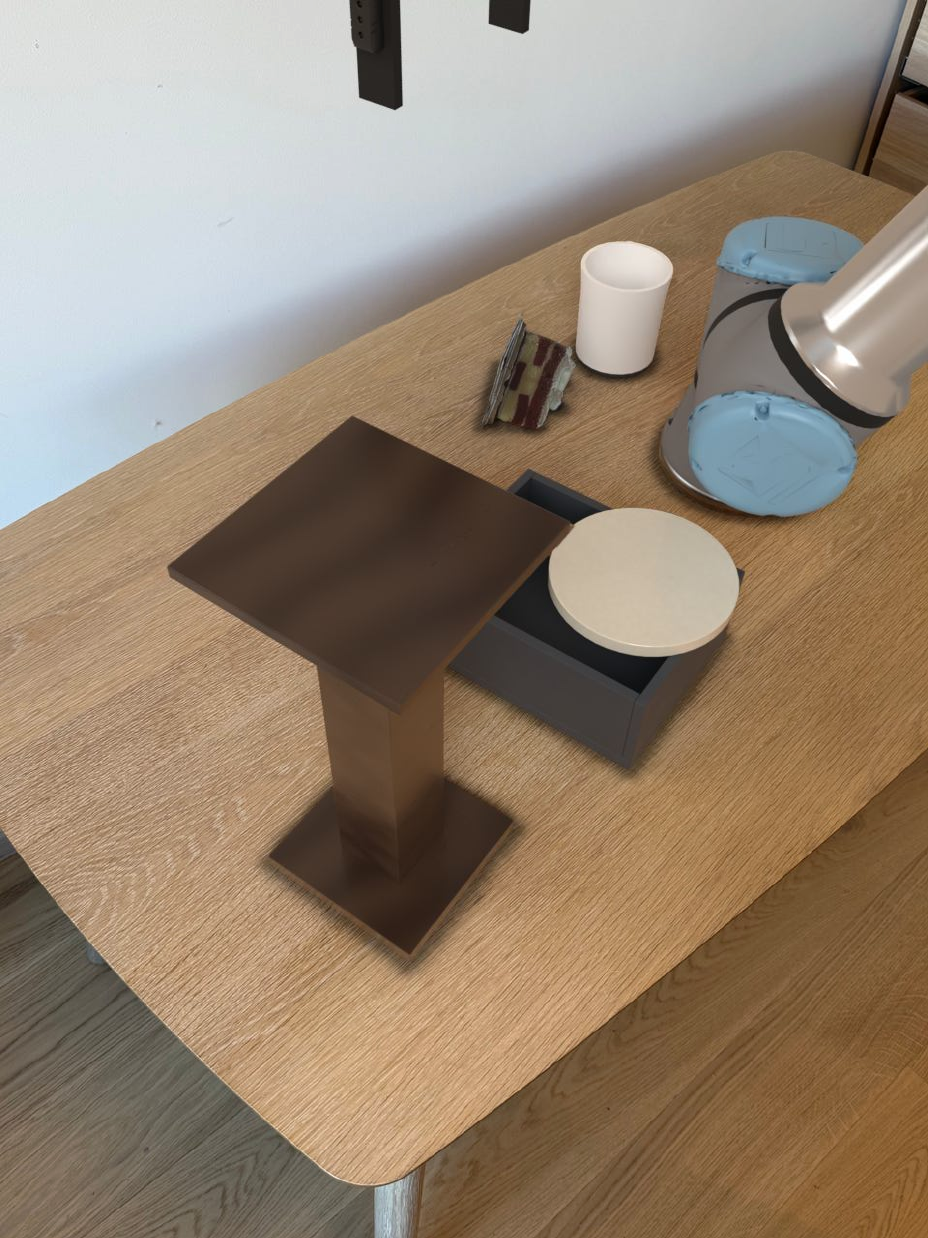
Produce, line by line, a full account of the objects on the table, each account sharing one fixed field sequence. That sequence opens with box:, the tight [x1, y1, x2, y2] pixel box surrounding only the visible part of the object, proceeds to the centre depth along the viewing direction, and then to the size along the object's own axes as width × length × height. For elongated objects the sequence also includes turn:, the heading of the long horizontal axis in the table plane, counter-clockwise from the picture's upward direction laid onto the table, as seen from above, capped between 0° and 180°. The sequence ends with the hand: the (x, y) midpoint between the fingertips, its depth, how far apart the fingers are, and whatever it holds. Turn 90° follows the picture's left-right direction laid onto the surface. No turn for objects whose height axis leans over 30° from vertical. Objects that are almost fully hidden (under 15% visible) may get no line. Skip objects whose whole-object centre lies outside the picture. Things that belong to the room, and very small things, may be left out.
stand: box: [166, 415, 570, 963], centre depth 65 cm, size 14×14×30 cm
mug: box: [575, 240, 674, 379], centre depth 110 cm, size 11×9×10 cm
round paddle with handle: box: [548, 507, 740, 657], centre depth 83 cm, size 23×14×1 cm, turn 56°
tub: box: [446, 468, 746, 771], centre depth 85 cm, size 20×16×8 cm
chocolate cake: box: [481, 311, 576, 431], centre depth 108 cm, size 10×7×12 cm
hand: (448, 62), depth 69 cm, fingers open, 13 cm apart
